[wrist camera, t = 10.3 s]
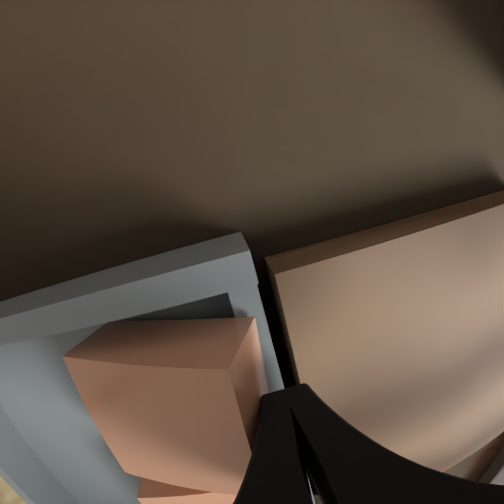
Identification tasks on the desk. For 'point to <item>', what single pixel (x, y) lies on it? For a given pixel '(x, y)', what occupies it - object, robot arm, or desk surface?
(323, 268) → the plate
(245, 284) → the tray
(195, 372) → the tile near
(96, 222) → the desk surface
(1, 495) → the hand bell
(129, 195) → the desk surface
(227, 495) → the tile far
